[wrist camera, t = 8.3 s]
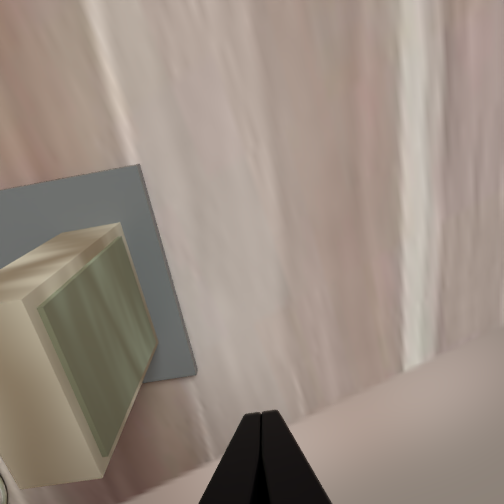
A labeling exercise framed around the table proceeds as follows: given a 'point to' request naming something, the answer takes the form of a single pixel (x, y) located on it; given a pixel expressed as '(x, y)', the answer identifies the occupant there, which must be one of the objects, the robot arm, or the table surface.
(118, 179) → the slate mat
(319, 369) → the table surface
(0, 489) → the coffee can
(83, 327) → the beech board
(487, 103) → the table surface
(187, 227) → the table surface
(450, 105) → the table surface
